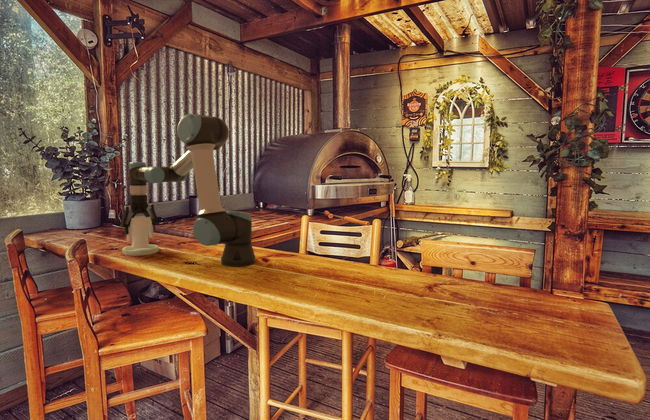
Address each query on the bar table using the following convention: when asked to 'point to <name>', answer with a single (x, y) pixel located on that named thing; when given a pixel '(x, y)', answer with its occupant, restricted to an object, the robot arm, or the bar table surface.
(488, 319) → the bar table surface
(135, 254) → the dish
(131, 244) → the sugar bowl
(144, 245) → the cup
